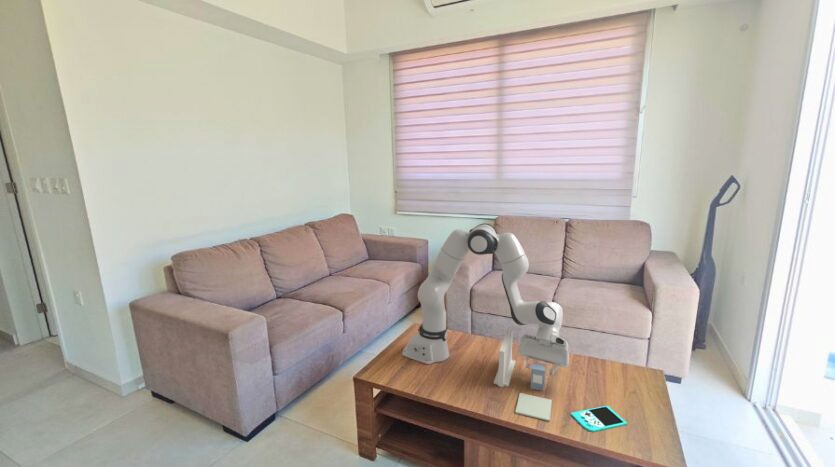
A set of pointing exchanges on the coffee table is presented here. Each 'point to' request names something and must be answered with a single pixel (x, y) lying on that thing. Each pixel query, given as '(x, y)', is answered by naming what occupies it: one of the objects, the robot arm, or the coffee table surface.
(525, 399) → the sage mat
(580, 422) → the handheld game console
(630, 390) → the coffee table surface
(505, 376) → the screen
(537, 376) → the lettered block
